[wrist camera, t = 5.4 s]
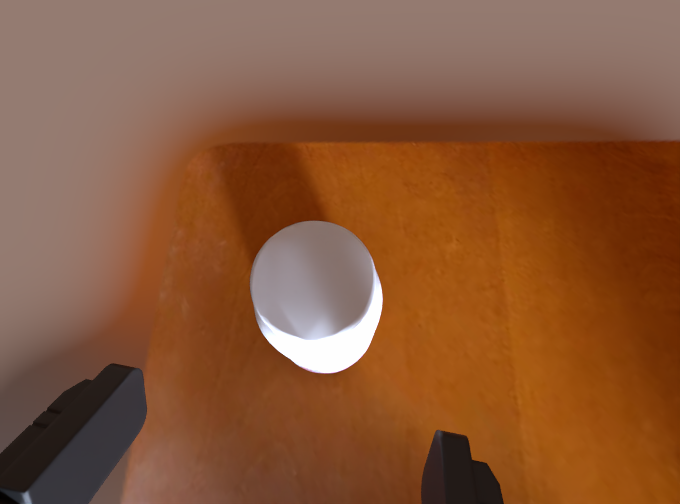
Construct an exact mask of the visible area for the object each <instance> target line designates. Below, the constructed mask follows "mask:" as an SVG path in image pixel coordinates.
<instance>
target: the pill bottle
mask: <svg viewBox="0 0 680 504" xmlns="http://www.w3.org/2000/svg"><path fill="white" fill-rule="evenodd" d="M250 292H251V297H252V301H253V304H254V311H255V316H256V320H257V323H258V325H259V327H260V330H261V331H262V333H263V335H264V336H265V337H266V339H267V340H268V341H269V342H270V343H271V344H272V345H273V346H274V347H275V348H276V349H277V350H278V351H280V352H281V353H282V354H283V355H285V356H287V357H288V358H290V359H291V360H292V361H293V362H294V363H295V364H297V365H298V366H300V367H301V368H303V369H306V370H308V371H311V372H316V373H335V372H339V371H342V370H344V369H346V368H348V367H350V366H351V365H353V364H354V363H355V362H356V361H358V360H359V359H360V358H361V357H362V356H363V354H364V353H365V351H366V350H367V348H368V347H369V344H370V342H371V340H372V337H373V334H374V332H375V329H376V327H377V324H378V321H379V318H380V314H381V309H382V289H381V284H380V281H379V277H378V275H377V272H376V271H375V267H374V263H373V260H372V257H371V255H370V253H369V251H368V250H367V248H366V247H365V245H364V244H363V243H362V242H361V240H360V239H359V238H357V236H355V235H354V234H353V233H351V232H350V231H348V230H347V229H345V228H344V227H341V226H339V225H336V224H333V223H330V222H324V221H305V222H300V223H296V224H293V225H290V226H288V227H286V228H284V229H282V230H280V231H279V232H277V233H276V234H275V235H273V236H272V237H271V238H270V239H269V240H268V241H267V242H266V243H265V244H264V245H263V247H262V248H261V249H260V251H259V253H258V254H257V256H256V258H255V260H254V263H253V266H252V270H251V276H250Z"/></svg>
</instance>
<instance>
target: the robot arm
mask: <svg viewBox="0 0 680 504" xmlns="http://www.w3.org/2000/svg"><path fill="white" fill-rule="evenodd" d="M146 414H147V404H146V396H145V388H144V379H143V373H142V370H140V369H139V368H134V367H129V366H124V365H119V364H110V365H108V366H107V367H105V368H104V369H103V370H102V371H101V373H100V374H99V375H98V376H97V377H96V378H95V379H94V380H87V379H86V380H84V381H82V382H80V383H78V384H77V385H75V386H73V387H72V388H70V389H68V390H66V391H65V392H63V393H62V394H61V395H60V396H59V397H58V398H57V399H56V400H55V401H54V402H53V403H52V404H51V405H50V406H49V407H48V408H47V411H46V412H45V411H44V412H43V413H42V414H41V415H40V416H39V417H38V418H37V419H36V420H35V421H33V424H32V425H29V426H28V427H27V428H26V429H25V430H24V431H23V432H22V433H21V434H20V435H19V436H18V437H17V438H16V439H15V440H14V441H13V442H12V443H11V444H10V445H9V446H8V447H7V448H6V449H5V450H4V451H3V452H2V453H1V454H0V504H88V503H89V502H90V501H91V499H92V498H93V496H94V495H95V493H96V492H97V491H98V490H99V488H100V487H101V485H102V484H103V483H104V481H105V480H106V478H107V477H108V476H109V474H110V473H111V471H112V470H113V468H114V467H115V466H116V464H117V463H118V462H119V460H120V459H121V457H122V456H123V455H124V453H125V452H126V450H127V449H128V448H129V446H130V445H131V443H132V442H133V441H134V439H135V438H136V436H137V435H138V434H139V432H140V430H141V429H142V427H143V424H144V422H145V419H146ZM421 501H422V504H504V502H503V498H502V493H501V489H500V484H499V483H498V481H497V479H496V478H495V476H494V474H493V473H492V471H491V469H490V468H489V466H488V464H487V463H484V462H479V461H474V460H472V458H471V452H470V446H469V441H468V438H467V436H465V435H460V434H455V433H450V432H445V431H440V430H437V431H436V432H435V435H434V438H433V441H432V444H431V447H430V451H429V454H428V457H427V460H426V463H425V467H424V471H423V476H422V486H421Z"/></svg>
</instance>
